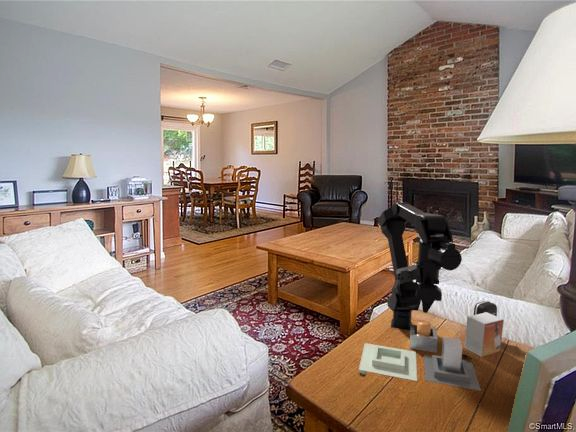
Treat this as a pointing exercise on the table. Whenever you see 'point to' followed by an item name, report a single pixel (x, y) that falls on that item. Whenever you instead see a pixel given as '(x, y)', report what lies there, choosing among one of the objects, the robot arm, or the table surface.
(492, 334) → the small box
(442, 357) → the steel peg
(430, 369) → the charcoal socket
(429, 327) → the tan egg
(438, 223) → the robot arm
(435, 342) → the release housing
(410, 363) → the pale green socket
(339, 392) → the table surface
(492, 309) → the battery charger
